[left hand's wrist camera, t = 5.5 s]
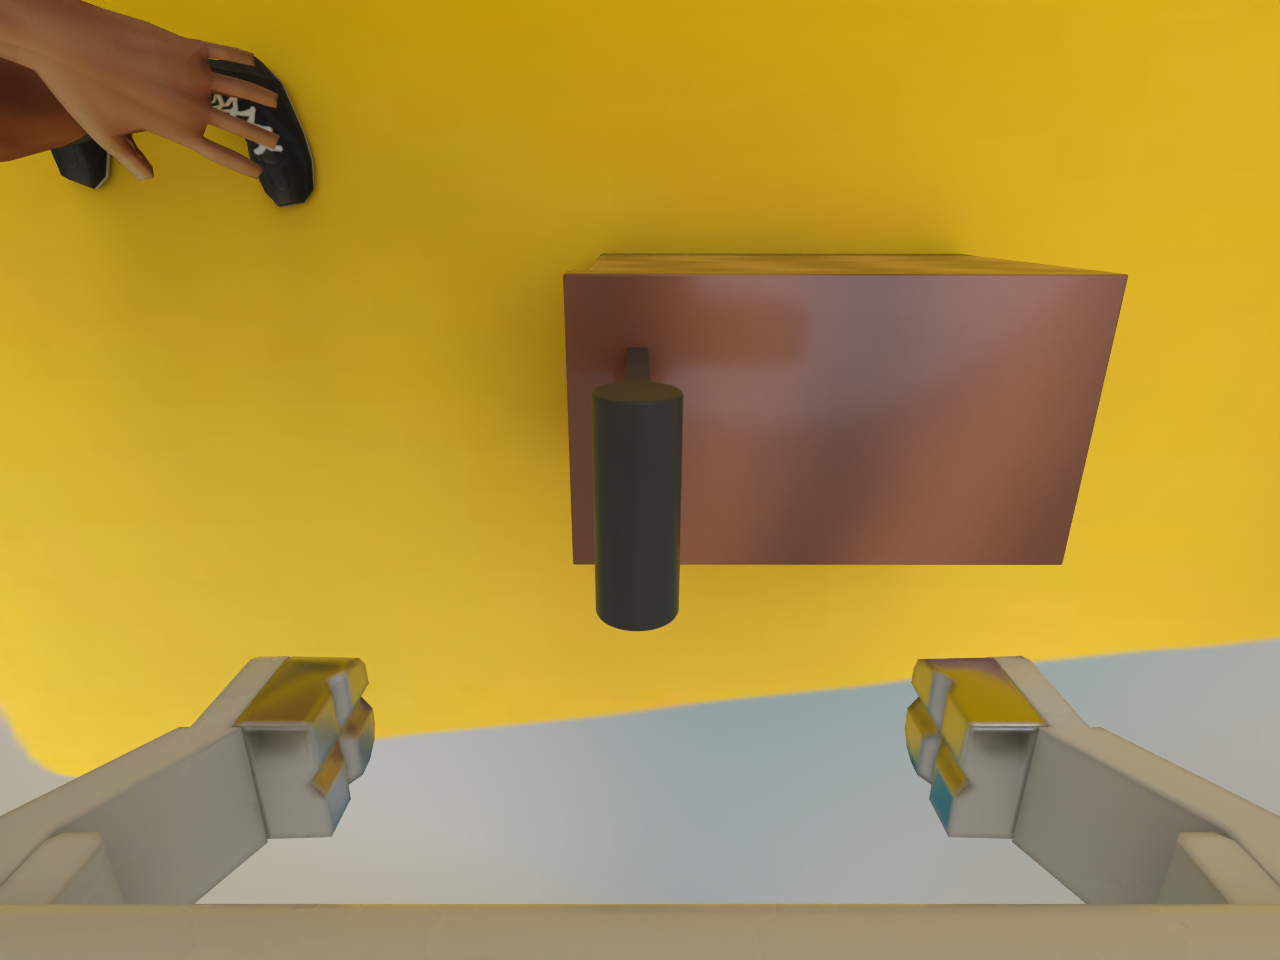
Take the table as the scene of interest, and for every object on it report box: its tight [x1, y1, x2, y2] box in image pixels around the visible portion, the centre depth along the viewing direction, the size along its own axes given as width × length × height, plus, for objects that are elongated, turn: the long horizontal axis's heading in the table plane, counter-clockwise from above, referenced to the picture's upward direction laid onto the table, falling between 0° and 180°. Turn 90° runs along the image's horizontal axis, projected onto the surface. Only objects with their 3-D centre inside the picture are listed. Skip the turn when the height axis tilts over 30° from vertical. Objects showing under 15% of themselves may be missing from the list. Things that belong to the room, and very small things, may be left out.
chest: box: [587, 254, 1101, 272], centre depth 31 cm, size 17×10×11 cm, turn 90°
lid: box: [563, 271, 1128, 631], centre depth 21 cm, size 18×10×9 cm, turn 90°
